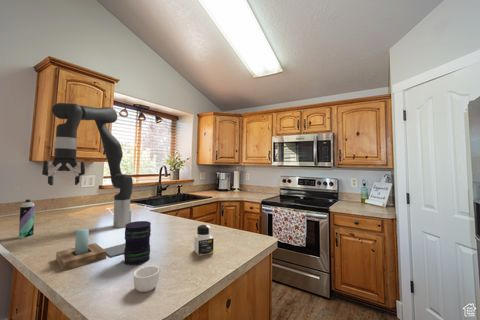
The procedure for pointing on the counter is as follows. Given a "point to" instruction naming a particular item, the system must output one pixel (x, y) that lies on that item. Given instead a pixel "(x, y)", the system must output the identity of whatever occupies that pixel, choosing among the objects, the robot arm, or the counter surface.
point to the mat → (115, 250)
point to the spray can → (26, 219)
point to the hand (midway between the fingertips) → (63, 185)
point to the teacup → (146, 278)
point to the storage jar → (137, 242)
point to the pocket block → (80, 257)
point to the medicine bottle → (203, 240)
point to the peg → (81, 241)
